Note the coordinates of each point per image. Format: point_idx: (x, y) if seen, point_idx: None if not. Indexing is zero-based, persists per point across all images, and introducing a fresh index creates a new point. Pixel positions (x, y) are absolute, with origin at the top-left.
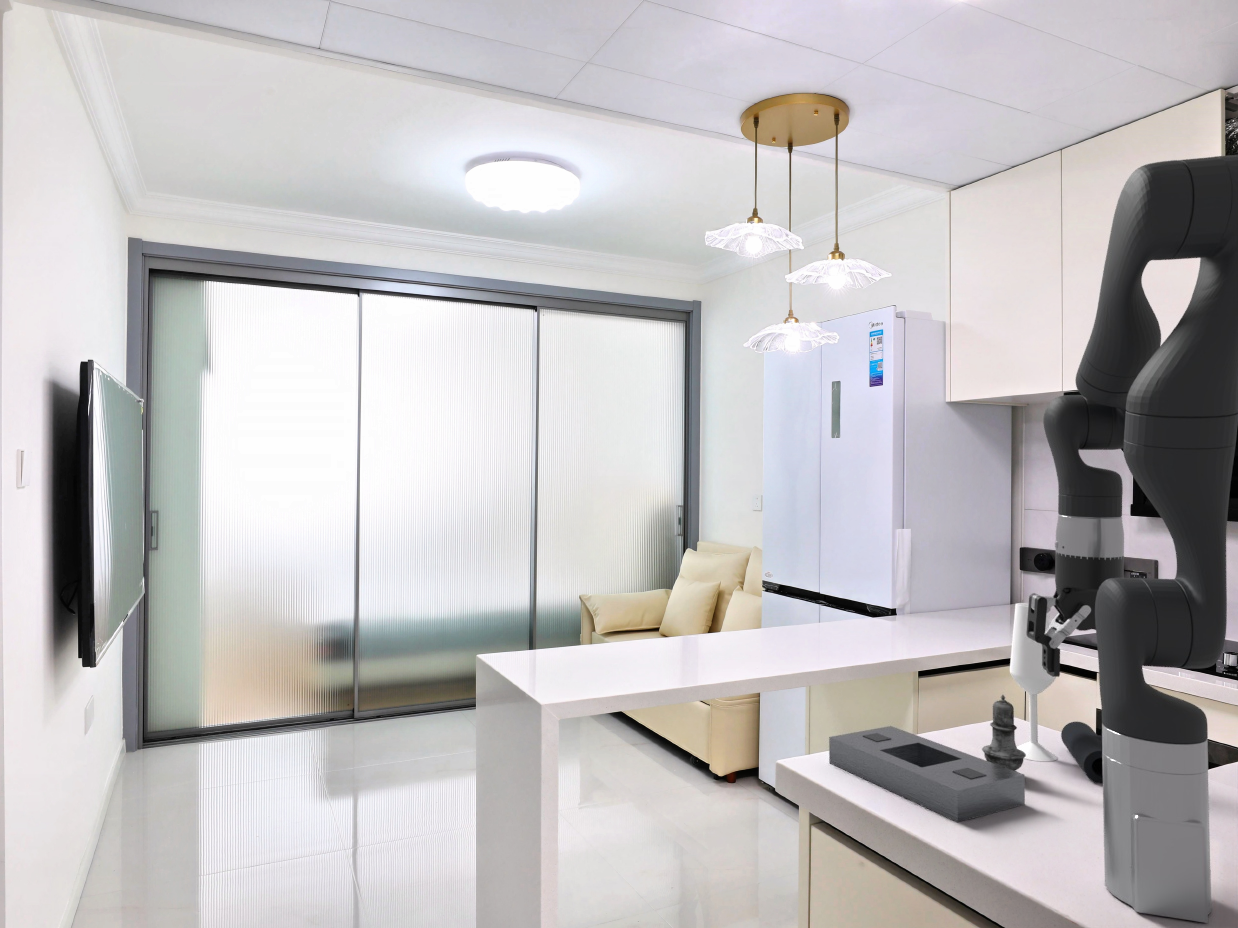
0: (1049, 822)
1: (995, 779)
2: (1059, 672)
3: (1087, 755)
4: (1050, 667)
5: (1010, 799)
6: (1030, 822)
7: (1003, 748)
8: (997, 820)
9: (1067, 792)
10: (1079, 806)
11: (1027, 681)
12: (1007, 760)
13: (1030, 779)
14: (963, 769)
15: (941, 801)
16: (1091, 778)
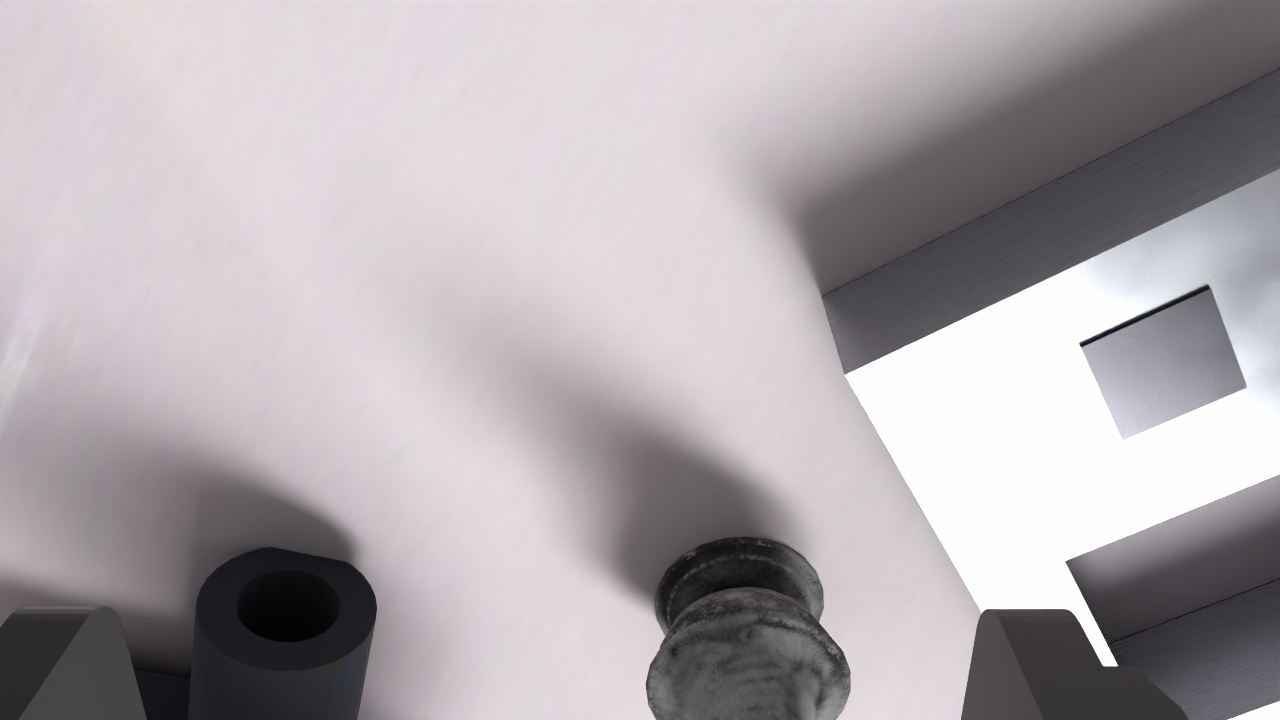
0: (815, 85)
1: (1064, 290)
2: (1007, 637)
3: (344, 659)
4: (1136, 714)
5: (932, 265)
6: (918, 77)
7: (778, 673)
8: (1083, 89)
9: (531, 445)
10: (553, 292)
11: None
12: (769, 610)
13: (635, 570)
14: (1166, 412)
15: None
16: (355, 574)
